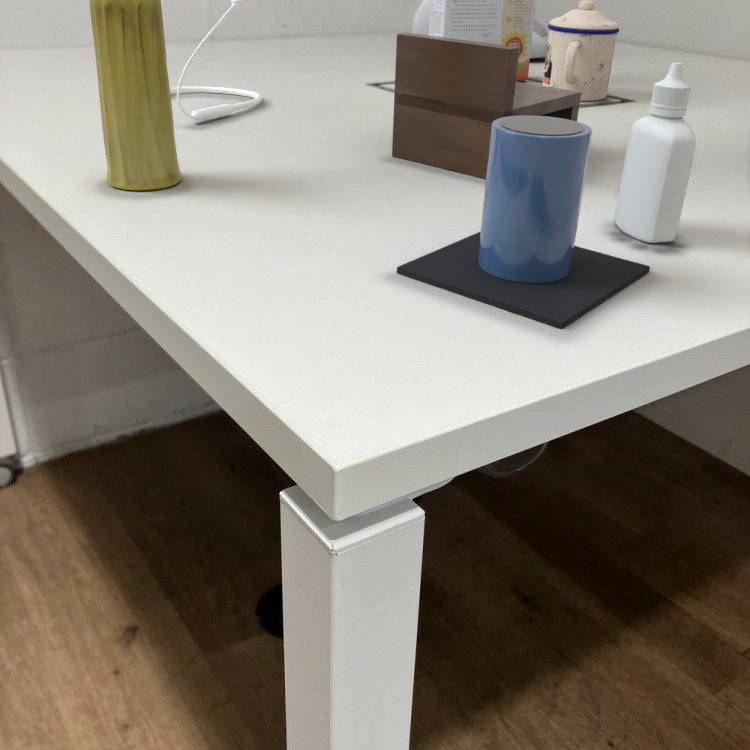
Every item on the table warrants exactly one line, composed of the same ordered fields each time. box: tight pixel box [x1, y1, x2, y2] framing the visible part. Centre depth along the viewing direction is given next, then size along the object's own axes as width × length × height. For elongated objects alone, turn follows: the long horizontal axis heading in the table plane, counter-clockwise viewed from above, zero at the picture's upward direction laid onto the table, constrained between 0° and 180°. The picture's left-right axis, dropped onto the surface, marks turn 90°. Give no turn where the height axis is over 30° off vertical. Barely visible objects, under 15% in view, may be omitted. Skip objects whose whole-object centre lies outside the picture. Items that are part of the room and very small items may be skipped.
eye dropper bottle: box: [614, 62, 697, 244], centre depth 59 cm, size 4×6×12 cm
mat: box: [396, 231, 651, 329], centre depth 54 cm, size 12×12×1 cm
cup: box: [478, 116, 593, 283], centre depth 51 cm, size 6×6×9 cm
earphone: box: [169, 0, 263, 124], centre depth 94 cm, size 14×17×18 cm
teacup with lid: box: [541, 0, 620, 102], centre depth 106 cm, size 12×9×12 cm
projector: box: [412, 0, 549, 59], centre depth 138 cm, size 22×23×15 cm
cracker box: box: [429, 0, 537, 82], centre depth 113 cm, size 14×6×21 cm, turn 110°
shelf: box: [391, 32, 581, 180], centre depth 78 cm, size 14×12×11 cm
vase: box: [89, 0, 182, 192], centre depth 65 cm, size 6×6×14 cm
